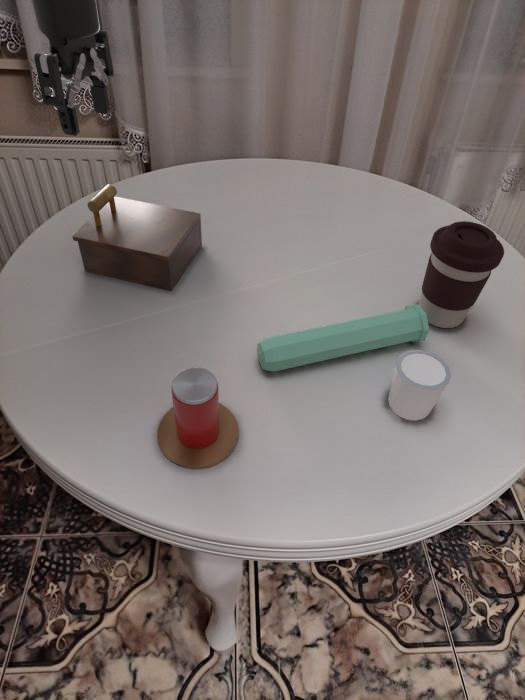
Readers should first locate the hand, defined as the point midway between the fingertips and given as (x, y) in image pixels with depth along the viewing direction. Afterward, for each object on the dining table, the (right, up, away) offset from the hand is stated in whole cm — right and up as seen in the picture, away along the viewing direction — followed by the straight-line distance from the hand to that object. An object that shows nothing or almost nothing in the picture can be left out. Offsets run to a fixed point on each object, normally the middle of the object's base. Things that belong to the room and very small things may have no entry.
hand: (88, 122), depth 73 cm
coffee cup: (+54, -27, +8) cm, 61 cm away
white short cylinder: (+45, -40, -5) cm, 61 cm away
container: (+36, -33, +1) cm, 49 cm away
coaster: (+17, -43, -10) cm, 48 cm away
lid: (+5, -13, +11) cm, 17 cm away
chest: (+5, -17, +15) cm, 23 cm away
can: (+17, -43, -11) cm, 47 cm away
